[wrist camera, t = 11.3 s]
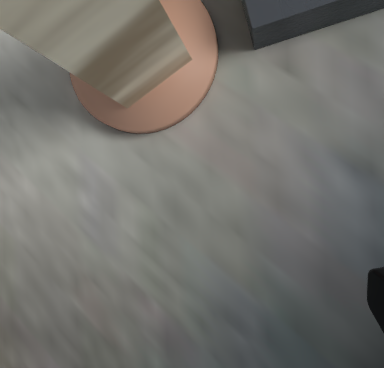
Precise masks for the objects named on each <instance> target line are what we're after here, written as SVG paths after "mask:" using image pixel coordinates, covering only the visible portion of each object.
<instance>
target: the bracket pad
mask: <svg viewBox="0 0 384 368" xmlns="http://www.w3.org/2000/svg"><path fill="white" fill-rule="evenodd" d="M159 1H160V3H161V4H162V6H163V8H164V10H165V12H166V13H167V15H168V17H169V19H170V20H171V22H172V24H173V26H174V28H175V29H176V31H177V33H178V35H179V36H180V38H181V40H182V42H183V44H184V45H185V47H186V49H187V51H188V53H189V54H190V56H191V58H192V60H191V61H190V62H189V63H187V64H186V65H185V66H183V67H182V68H181V69H179V70H178V71H177V72H175V73H174V74H173V75H171V76H170V77H169V78H167V79H166V80H165V81H163V82H162V83H161V84H159V85H158V86H157V87H155V88H154V89H153V90H151V91H150V92H149V93H147V94H146V95H145V96H143V97H142V98H141V99H139V100H138V101H137V102H135V103H134V104H133V105H131V106H130V107H129V108H126V107H124V106H123V105H121V104H120V103H118V102H116V101H115V100H113V99H112V98H110V97H108V96H107V95H105V94H104V93H102V92H100V91H99V90H97V89H96V88H94V87H92V86H91V85H89V84H88V83H86V82H84V81H83V80H81V79H79V78H78V77H76V76H75V75H73V74H71V73H70V72H69V73H70V78H71V82H72V85H73V88H74V91H75V93H76V95H77V97H78V99H79V100H80V102H81V103H82V105H83V106H84V107H85V108H86V109H87V111H88V112H89V113H90V114H91V115H93V116H94V117H95V118H96V119H98V120H99V121H101V122H103V123H104V124H106V125H108V126H111V127H113V128H115V129H118V130H120V131H124V132H128V133H136V134H143V133H153V132H158V131H161V130H164V129H167V128H169V127H171V126H174V125H176V124H177V123H179V122H180V121H182V120H184V119H185V118H186V117H187V116H189V115H190V114H191V113H192V112H193V111H194V110H195V109H196V108H197V107H198V106H199V104H200V103H201V102H202V100H203V99H204V98H205V96H206V94H207V93H208V91H209V89H210V87H211V85H212V82H213V80H214V77H215V73H216V70H217V63H218V41H217V36H216V32H215V28H214V25H213V22H212V20H211V18H210V15H209V13H208V11H207V9H206V8H205V6H204V4H203V3H202V2H201V1H200V0H159Z"/></svg>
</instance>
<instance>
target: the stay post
mask: <svg viewBox="0 0 384 368" xmlns="http://www.w3.org/2000/svg"><path fill="white" fill-rule="evenodd" d="M0 29H1V30H3V31H4V32H6V33H7V34H9V35H11V36H12V37H14V38H15V39H17V40H19V41H20V42H22V43H23V44H25V45H27V46H28V47H30V48H31V49H33V50H35V51H36V52H38V53H39V54H41V55H43V56H44V57H46V58H47V59H49V60H51V61H52V62H54V63H55V64H57V65H59V66H60V67H62V68H63V69H65V70H67V71H68V72H70V73H71V74H73V75H75V76H76V77H78V78H79V79H81V80H83V81H84V82H86V83H88V84H89V85H91V86H92V87H94V88H96V89H97V90H99V91H100V92H102V93H104V94H105V95H107V96H108V97H110V98H112V99H113V100H115V101H116V102H118V103H120V104H121V105H123V106H124V107H126V108H129V107H130V106H131V105H133V104H134V103H135V102H137V101H138V100H139V99H141V98H142V97H143V96H145V95H146V94H147V93H149V92H150V91H151V90H153V89H154V88H155V87H157V86H158V85H159V84H161V83H162V82H163V81H165V80H166V79H167V78H169V77H170V76H171V75H173V74H174V73H175V72H177V71H178V70H179V69H181V68H182V67H183V66H185V65H186V64H187V63H189V62H190V61H191V60H192V58H191V56H190V54H189V53H188V51H187V49H186V47H185V45H184V44H183V42H182V40H181V38H180V36H179V35H178V33H177V31H176V29H175V28H174V26H173V24H172V22H171V20H170V19H169V17H168V15H167V13H166V12H165V10H164V8H163V6H162V4H161V3H160V1H159V0H0Z"/></svg>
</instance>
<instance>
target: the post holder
mask: <svg viewBox="0 0 384 368" xmlns="http://www.w3.org/2000/svg"><path fill="white" fill-rule="evenodd" d="M242 3H243V7H244V11H245V14H246V18H247V22H248V26H249V30H250V34H251V38H252V41H253V45H254V49H255V50H256V49H259V48H262V47H265V46H268V45H271V44H274V43H277V42H280V41H283V40H287V39H290V38H293V37H296V36H299V35H302V34H305V33H308V32H311V31H314V30H318V29H321V28H324V27H327V26H330V25H333V24H336V23H339V22H342V21H345V20H349V19H352V18H355V17H358V16H361V15H364V14H367V13H370V12H373V11H376V10H380V9H383V8H384V0H242Z"/></svg>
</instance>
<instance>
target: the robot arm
mask: <svg viewBox="0 0 384 368" xmlns="http://www.w3.org/2000/svg"><path fill="white" fill-rule="evenodd" d="M367 302H368V305H369V308H370V310H371V311H372V313H373V315H374V317H375V319H376V320H377V322H378V324H379V326H380V327H381V329H382V331H383V333H384V267H381V268H375V269H371V270H370V271H369V273H368V284H367Z"/></svg>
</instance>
